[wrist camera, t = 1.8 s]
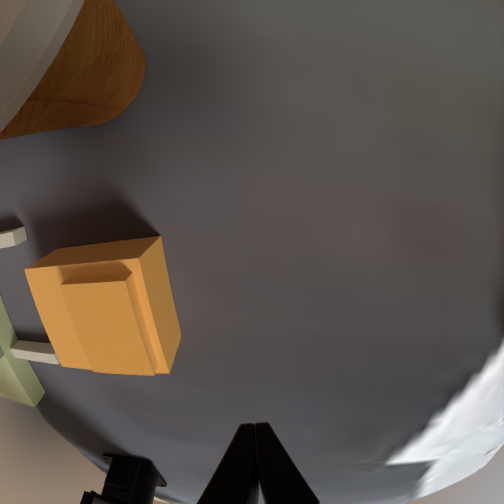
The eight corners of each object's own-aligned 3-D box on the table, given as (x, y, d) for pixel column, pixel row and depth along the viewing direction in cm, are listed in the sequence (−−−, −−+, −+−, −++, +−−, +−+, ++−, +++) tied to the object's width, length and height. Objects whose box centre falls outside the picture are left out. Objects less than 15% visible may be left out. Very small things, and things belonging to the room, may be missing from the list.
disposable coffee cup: (41, 51, 12) (-79, 14, 1) (163, -5, 12) (91, -124, 1) (52, 171, 15) (-98, 208, 4) (185, 124, 15) (61, 64, 4)
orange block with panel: (181, 335, 19) (166, 384, 14) (85, 335, 19) (55, 375, 14) (160, 235, 17) (131, 265, 12) (57, 248, 17) (14, 275, 12)
